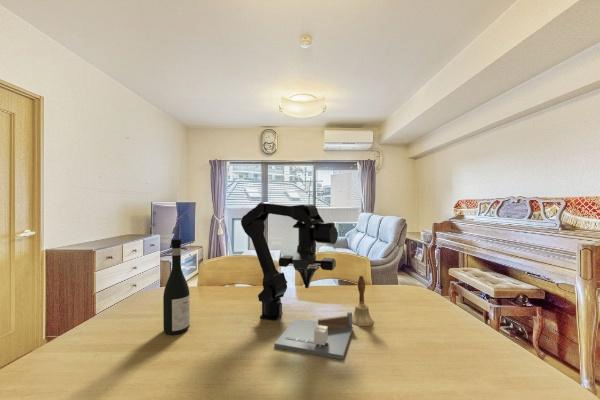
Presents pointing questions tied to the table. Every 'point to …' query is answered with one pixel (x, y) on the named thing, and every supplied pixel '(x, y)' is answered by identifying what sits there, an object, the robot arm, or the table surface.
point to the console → (302, 339)
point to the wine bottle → (176, 296)
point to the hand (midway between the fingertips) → (307, 287)
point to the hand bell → (361, 307)
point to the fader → (320, 335)
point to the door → (334, 322)
